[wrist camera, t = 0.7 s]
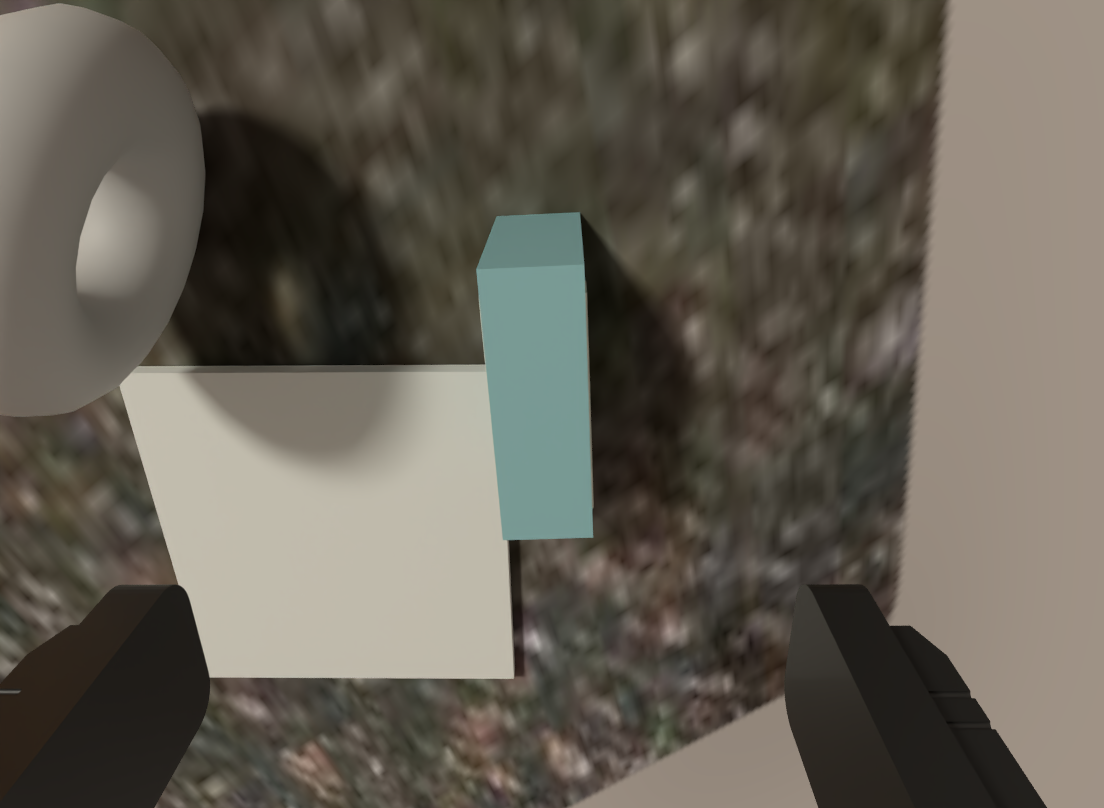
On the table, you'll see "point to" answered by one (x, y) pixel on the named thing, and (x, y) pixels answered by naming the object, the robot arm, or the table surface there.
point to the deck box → (538, 374)
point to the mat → (331, 517)
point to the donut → (89, 204)
